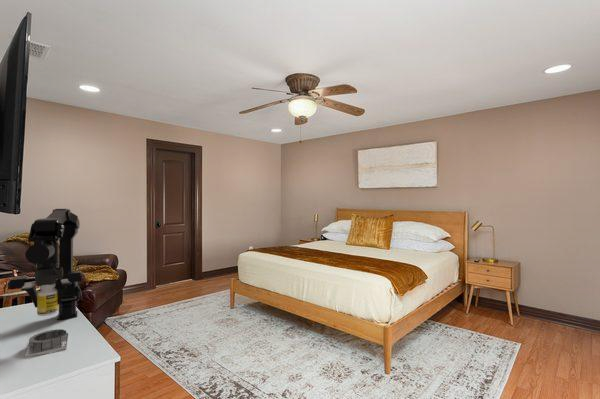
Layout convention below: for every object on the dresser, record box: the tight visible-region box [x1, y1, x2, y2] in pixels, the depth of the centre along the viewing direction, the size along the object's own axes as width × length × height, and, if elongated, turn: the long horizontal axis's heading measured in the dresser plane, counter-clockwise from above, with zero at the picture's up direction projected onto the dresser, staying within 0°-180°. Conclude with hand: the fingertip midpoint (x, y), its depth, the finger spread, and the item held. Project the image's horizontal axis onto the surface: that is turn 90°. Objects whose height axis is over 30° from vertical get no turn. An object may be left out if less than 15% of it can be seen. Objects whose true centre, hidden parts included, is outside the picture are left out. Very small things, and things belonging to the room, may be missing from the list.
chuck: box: [24, 328, 69, 359], centre depth 104 cm, size 12×10×3 cm
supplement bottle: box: [36, 284, 59, 317], centre depth 104 cm, size 5×5×10 cm
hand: (47, 305), depth 104 cm, fingers closed on supplement bottle, 5 cm apart
